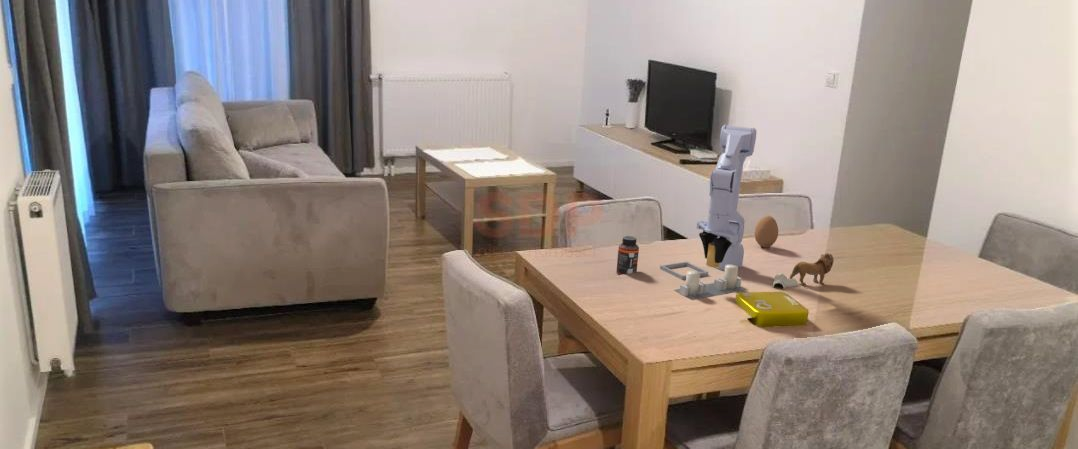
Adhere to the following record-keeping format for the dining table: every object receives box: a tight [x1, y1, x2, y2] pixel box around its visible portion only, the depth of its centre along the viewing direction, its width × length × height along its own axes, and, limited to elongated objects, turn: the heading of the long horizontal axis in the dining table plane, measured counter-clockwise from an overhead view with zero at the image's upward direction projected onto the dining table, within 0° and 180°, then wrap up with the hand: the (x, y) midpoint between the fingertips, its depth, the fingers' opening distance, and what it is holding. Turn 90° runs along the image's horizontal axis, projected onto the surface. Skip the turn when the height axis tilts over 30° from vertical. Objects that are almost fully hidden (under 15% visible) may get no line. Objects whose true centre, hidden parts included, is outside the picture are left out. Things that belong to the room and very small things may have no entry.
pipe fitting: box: [772, 273, 799, 290], centre depth 247 cm, size 8×4×7 cm
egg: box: [754, 215, 779, 249], centre depth 286 cm, size 8×8×11 cm
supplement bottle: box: [616, 235, 640, 276], centre depth 251 cm, size 6×6×11 cm
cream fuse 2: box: [723, 264, 739, 289], centre depth 242 cm, size 4×4×6 cm
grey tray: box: [659, 261, 709, 280], centre depth 253 cm, size 10×10×2 cm
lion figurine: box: [788, 252, 834, 286], centre depth 253 cm, size 15×5×9 cm, turn 112°
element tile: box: [734, 291, 809, 328], centre depth 227 cm, size 15×15×5 cm
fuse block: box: [673, 275, 747, 301], centre depth 239 cm, size 20×8×4 cm, turn 121°
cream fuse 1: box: [684, 270, 701, 296], centre depth 235 cm, size 4×4×6 cm
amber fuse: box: [706, 241, 720, 268], centre depth 236 cm, size 4×4×7 cm
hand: (713, 260), depth 237 cm, fingers closed on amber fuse, 4 cm apart
